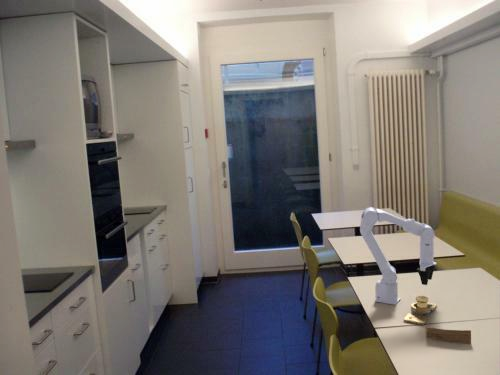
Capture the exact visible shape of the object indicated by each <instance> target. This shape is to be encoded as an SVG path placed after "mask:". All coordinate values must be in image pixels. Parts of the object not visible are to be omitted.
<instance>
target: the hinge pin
mask: <svg viewBox="0 0 500 375" xmlns="http://www.w3.org/2000/svg"><path fill="white" fill-rule="evenodd" d="M415 301H416V302H417V308H427V303H429V297H427V296H424V295H417V296H416V297H415Z"/></svg>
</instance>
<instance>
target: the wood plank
mask: <svg viewBox="0 0 500 375" xmlns="http://www.w3.org/2000/svg"><path fill="white" fill-rule="evenodd" d="M425 330H426V331H425V332H426V333H425V337H426V339H427V338H428V339H432V340H436V341H442V342H448V343H459V344H470V345H471V344H472V330H469V329H465V330H464V329H463V330H461V329H459V330H458V329H457V330H456V329H442V328H435V327H426V329H425Z"/></svg>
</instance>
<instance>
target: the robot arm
mask: <svg viewBox="0 0 500 375" xmlns="http://www.w3.org/2000/svg"><path fill="white" fill-rule="evenodd" d="M383 222H387V223H390V224H394V225H396V226H398V227H402V230H403V231H404V232H407V233H409V234H412V235H415V236H417V237H419V236H420V242H419V267H417V269H416V272H417V273H418V275H419V278H420V282H421V285H424V286H427V285H428V283H429V281H430V280H432V279H433V274H434V272H435V271H434V270H435V268H436V266H437V262H435V261H434V259H435V258H434V255H435V254H434V253H435V252H434V249H435V248H434V247H435V246H434V238H435V237H436V234H435V230H434V229H433V228H432V227H431V225H429V224H427V223H424V222H422V223H421V222H419V221H417V220H415V218H407V219H404V218H401V217H399V216H397V215H394V214H392V213H389V212H387V211H384V210H382V209H380V208H375V207H373V206H367V207H366V208H365V209H363V212H362V214H361V218H360V226H359V233H360V235H361V236H362V238H363V240H364V242H365V244H366V245H367V248H368V249H369V251H370V253H371V254H372V257H373V258H374V260H375V262H376V264H377V265H378V268H379V270H380V273H381V275H382V278H381V279H380V280H379V279H378V280H377V281H376V283H375V300H374V301H375V302H378V303H383V304H390V305H394V306H396V305H397V303H399V302H400V301H401V297H398V293H399V292H398V289H399V287H398V285H399V284H398V275H397V272H396V267H394V266H393V265H391V264H390V262H389V260H388V259H387V257H386V255H385V253H384V252H383V250H382V248H381V245H380V244H379V243H378V240H377V239H376V237H375V235H374V234H373V231H372V230H373V228H374V225H376V223H383Z"/></svg>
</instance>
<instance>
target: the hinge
mask: <svg viewBox="0 0 500 375" xmlns="http://www.w3.org/2000/svg"><path fill="white" fill-rule="evenodd" d="M437 306H438V304H437V303H432V302H427V308H417V301H416V302H412V303H411V305H410V312H408V313H407V314H406V316H405V317H404V318H403V322H404V323H408V322H409V324H413V323H414V324H413V325H419V326H425V324H426V322H428V320H429V317H430V316H431V313H433V312H434V311H435V309H436V308H437Z"/></svg>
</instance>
